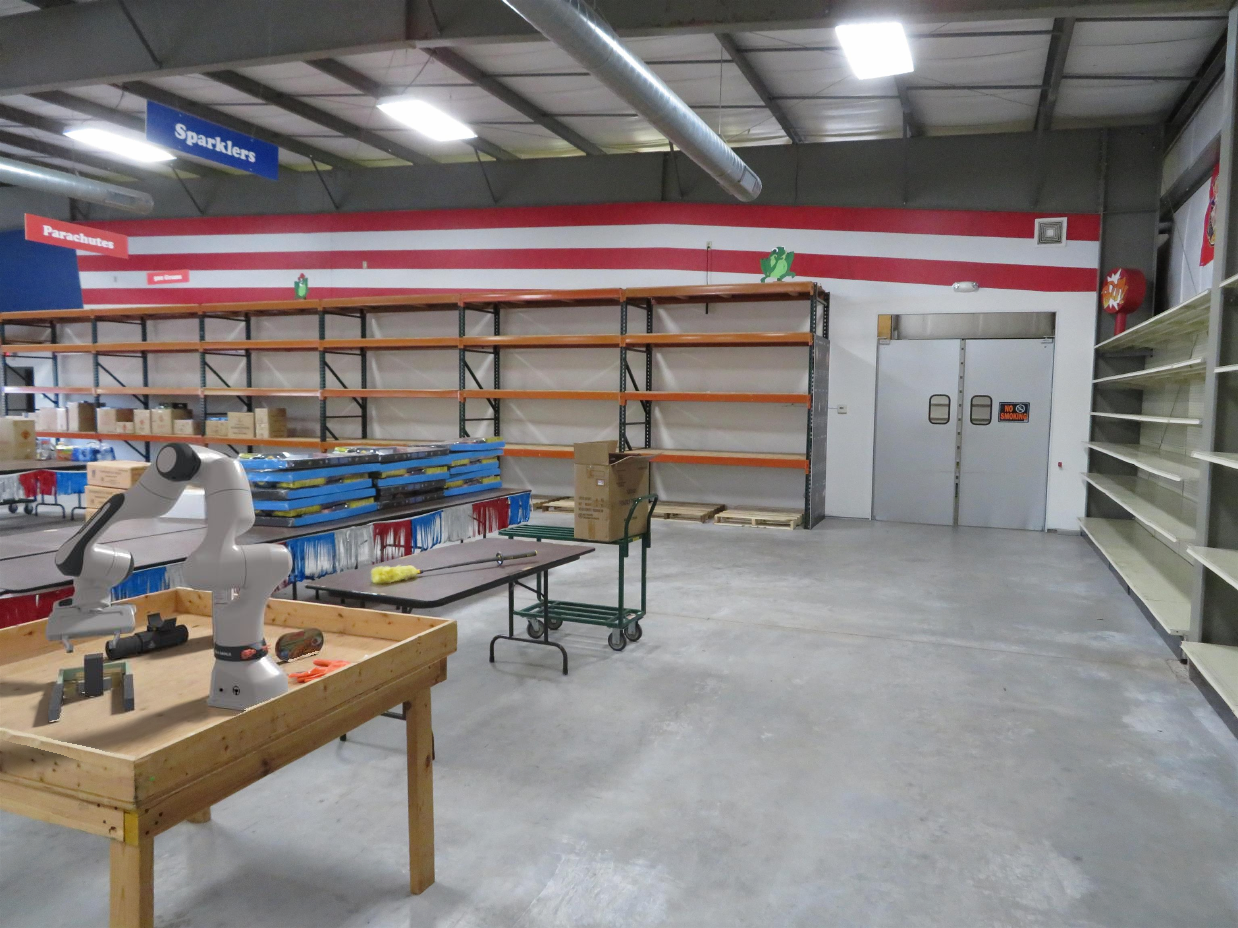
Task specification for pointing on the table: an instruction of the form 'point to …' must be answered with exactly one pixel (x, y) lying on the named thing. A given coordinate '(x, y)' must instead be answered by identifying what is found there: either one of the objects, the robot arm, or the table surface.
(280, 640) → the tin
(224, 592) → the cracker box
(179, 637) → the laser sight
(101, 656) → the dark grey block
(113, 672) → the brown wooden cube
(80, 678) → the wooden block
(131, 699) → the slot jig
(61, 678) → the open frame
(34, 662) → the table surface
